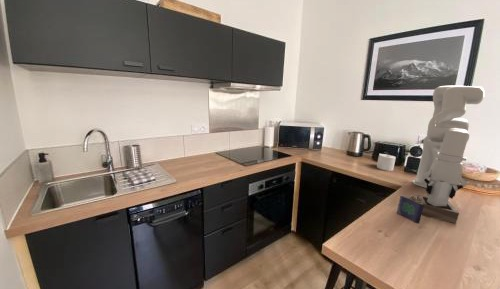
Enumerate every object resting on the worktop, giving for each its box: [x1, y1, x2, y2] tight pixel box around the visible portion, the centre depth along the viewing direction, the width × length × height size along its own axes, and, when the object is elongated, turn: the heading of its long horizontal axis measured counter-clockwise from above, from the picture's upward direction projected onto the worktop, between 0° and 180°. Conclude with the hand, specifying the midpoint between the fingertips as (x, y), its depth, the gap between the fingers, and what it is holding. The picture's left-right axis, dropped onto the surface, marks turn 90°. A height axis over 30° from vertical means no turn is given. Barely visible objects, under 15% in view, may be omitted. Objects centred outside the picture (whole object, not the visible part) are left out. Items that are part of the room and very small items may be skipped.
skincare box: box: [427, 181, 452, 206], centre depth 95 cm, size 6×4×12 cm
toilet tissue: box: [376, 153, 397, 172], centre depth 159 cm, size 11×12×10 cm
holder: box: [416, 194, 460, 224], centre depth 97 cm, size 12×12×5 cm
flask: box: [396, 194, 424, 224], centre depth 92 cm, size 9×3×11 cm, turn 24°
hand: (439, 194), depth 96 cm, fingers closed on skincare box, 7 cm apart
